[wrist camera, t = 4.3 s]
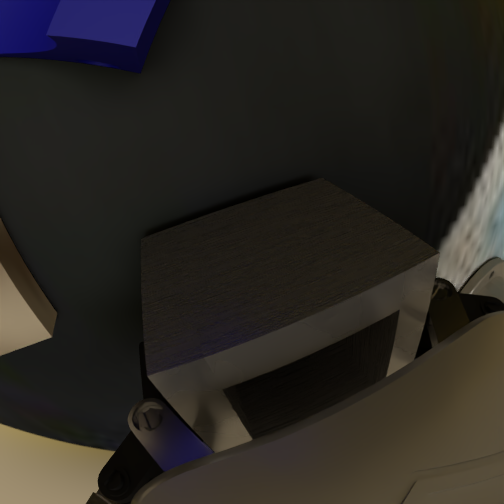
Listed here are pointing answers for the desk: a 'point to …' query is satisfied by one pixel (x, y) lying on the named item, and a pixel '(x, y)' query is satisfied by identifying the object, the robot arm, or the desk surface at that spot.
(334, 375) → the sleeve
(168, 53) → the desk surface
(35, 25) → the cable clip
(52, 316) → the post board
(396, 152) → the desk surface
